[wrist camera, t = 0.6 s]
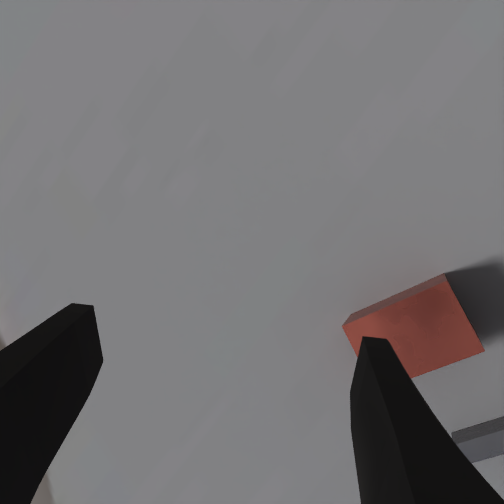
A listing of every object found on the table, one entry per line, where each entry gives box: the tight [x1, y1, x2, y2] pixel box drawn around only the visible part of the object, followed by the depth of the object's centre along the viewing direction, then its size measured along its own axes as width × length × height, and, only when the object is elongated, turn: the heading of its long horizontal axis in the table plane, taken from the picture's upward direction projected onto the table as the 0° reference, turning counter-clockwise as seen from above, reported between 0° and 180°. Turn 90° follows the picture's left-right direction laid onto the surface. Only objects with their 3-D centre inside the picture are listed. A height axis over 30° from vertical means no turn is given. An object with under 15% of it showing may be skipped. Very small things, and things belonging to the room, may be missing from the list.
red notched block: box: [342, 273, 485, 378], centre depth 29 cm, size 5×7×4 cm, turn 118°
